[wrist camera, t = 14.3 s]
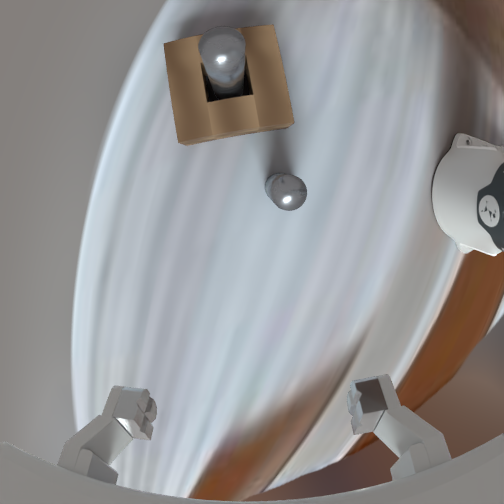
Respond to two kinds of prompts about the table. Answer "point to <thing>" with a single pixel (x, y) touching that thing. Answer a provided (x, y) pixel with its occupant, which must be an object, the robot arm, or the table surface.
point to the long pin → (224, 60)
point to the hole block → (233, 109)
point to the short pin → (286, 191)
